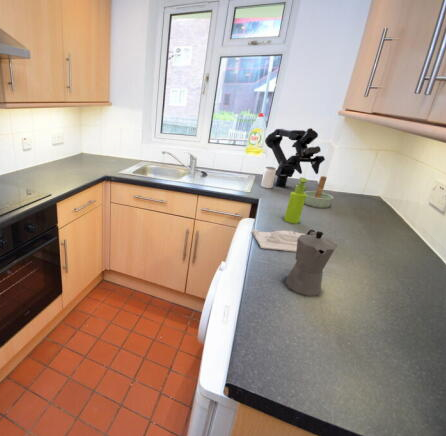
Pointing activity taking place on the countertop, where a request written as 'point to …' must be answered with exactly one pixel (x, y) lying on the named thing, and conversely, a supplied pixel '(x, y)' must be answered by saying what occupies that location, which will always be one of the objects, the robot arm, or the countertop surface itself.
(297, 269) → the coffeepot
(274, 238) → the beige cloth
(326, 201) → the bowl
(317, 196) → the pestle
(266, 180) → the can
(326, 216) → the countertop surface
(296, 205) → the soap dispenser
